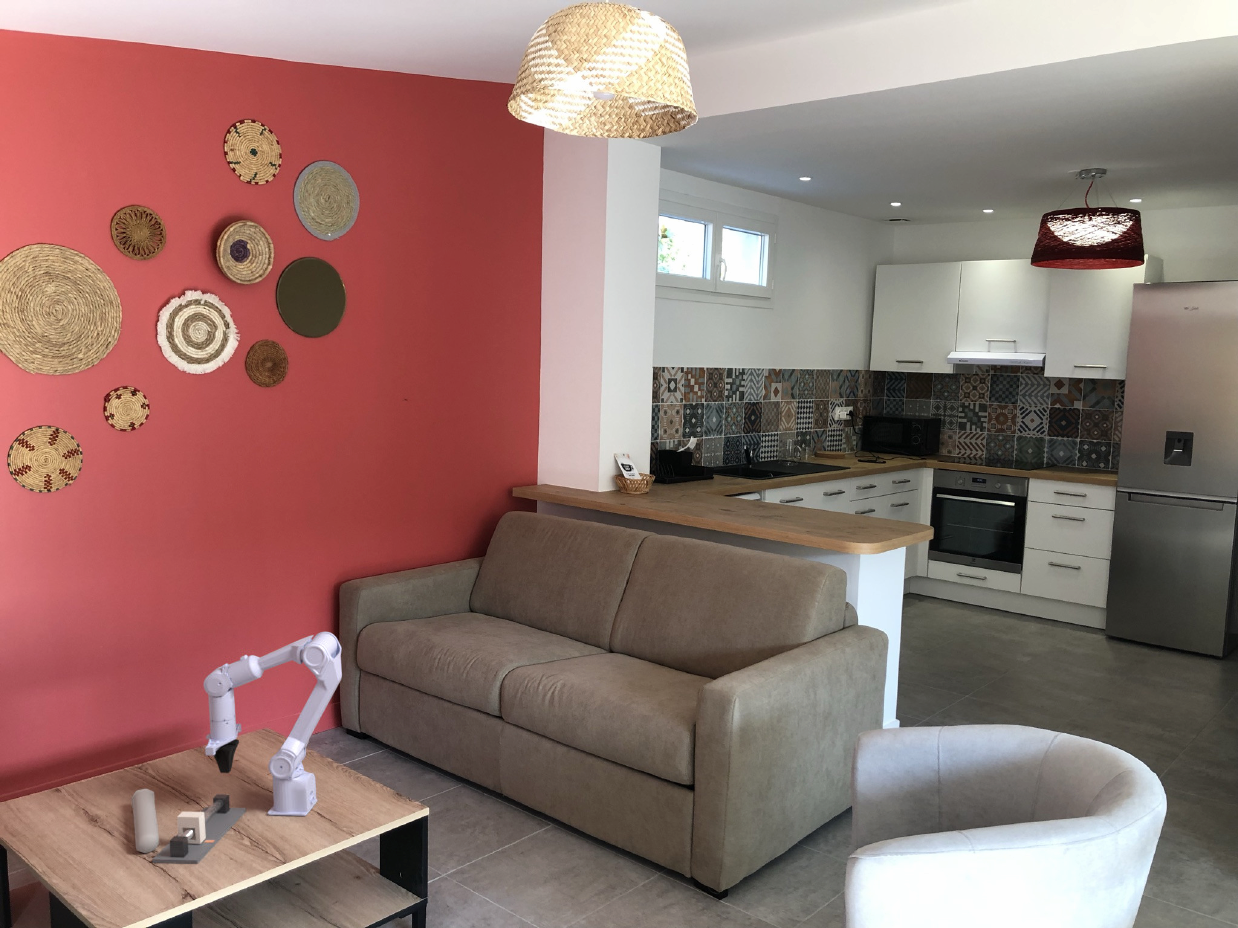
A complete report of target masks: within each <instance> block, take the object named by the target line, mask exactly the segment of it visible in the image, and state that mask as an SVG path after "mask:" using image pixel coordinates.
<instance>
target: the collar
mask: <svg viewBox="0 0 1238 928" xmlns="http://www.w3.org/2000/svg"><path fill="white" fill-rule="evenodd" d="M176 821H177V822H176V823H177V835H178V836H181V835H182V834H183V833H184V832H185V831H186V830H187V829H188V828H195V835H194V836H193V837H192V838H191V839H190V840H189V841H188V843H191V844H201V843H202V842H203V840H204V839H205V838H206V833H205V817H204V812H201V811H181V812H180V813H179V815H177V816H176Z"/></svg>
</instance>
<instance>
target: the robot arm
mask: <svg viewBox="0 0 1238 928" xmlns="http://www.w3.org/2000/svg"><path fill="white" fill-rule="evenodd" d="M341 654H342V645H341V644H340V641H339V640H338V638H337V636H335V634H333V633H332V632H329V631H321V632H318V633H317V634H316V635H315V636H314V634H312V635H309V636H306V637H303V638H301V639H298V640H296V641H294V642H291V643H289V644H287V645H285V646H282V647H280V648H278V649H275V650H274V651H271V652H268V653H267V654H265V655H263V656H260V657H259V656H256V655H254V654H253V655H247V654H245V655H242V656H240V658H239V660H236V661H234V662H232V663H230V664H229V663H224V664H223V665H222V666H218V667H217V668H215V669H214V670H213V671H212V672H211V673H209V674H208V675H207V676H206V678H205V679H204V680H203V688H204V689H203V690H204V691H205V692H206V694H208V712H209V732H210V733H208V734H207V735H205V739H206V740H208V743H207V745H206V746H205V747H204V750H205V751H204V752H205V756H213V757H214V759H215V762H216V764H217V767H218V770H219V773H220V774H229V773H230V772H231V770H232V768H233V763H234V756H235V753H236V750H237V749H238V745H239V744H240V740H239V739H238V734H239V733H240V732H242V724H241V723H237V722H236V719H237V718H236V704H235V688H238V687H240V686H243V685H246V684H248V683H251V682H253V681H256V680H257V679H260V678H262V676H263V675H264V671H267V670H269V669H271V668H274V667H277V666H280V665H282V664H286V663H288V662H291V661H293V662H294V663H296V664H297V665H298V664H299V665H302V664H304V665H305V667H307V668H308V669H309V670H310V672H311V673H312V674H313V675H314V676H315V678H316V680H317V682H316V684H315V686H314V687H313V689H312V691H311V693H310V695H309V696H308V698H307V701H306V703H305V704H304V706H303V708H302V710H301V712H300V713H299V716H298V718H297V719H296V722H295V723H294V725H293V727H292V729H291V730H290V733H289V735H288V736H287V738H286V739H285V741H284V742H283V743H282V744H281V746H280V748H279V749H278V750H277V751H276V753H275V754H274V755H273V756H272V757H271V758H270V759H269V761H268V766H267V768H268V771H269V773H270V774H271V776H272V790H273V791H272V794H273V795H272V796H273V806H271V808H270V809H269V810H268V812H267V815H268V816H297V817H299V816H301V817H302V816H303V817H305V816H307V815H308V814H309V812H310V811H311V810H312V808H313V807H314V806H315V805H316V803H317V802H318V801H319V800H318V799H317V785H316V776H315V774H314V772H308V771H306V770H305V768H304V765H303V762H302V761H303V760H305V758H306V754H307V745H308V744H309V742H310V738H311V736H312V734H313V732H314V730H315V728H316V727H317V725H318V723H319V721H320V719H321V718H322V715H323V714H324V712H325V711H326V708H327V706H328V704H329V703H330V701H331V700H332V697H333V696H334V694H335V691H336V690H337V688H338V686H339V684H340V682H341V680H342V678H343V677H342V676H343V673H342V672H343V671H342V670H343V669H342V657H341V656H342V655H341Z"/></svg>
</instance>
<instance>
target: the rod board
mask: <svg viewBox="0 0 1238 928" xmlns="http://www.w3.org/2000/svg"><path fill="white" fill-rule="evenodd" d="M200 812H204V817H205V833H206V838H205V839H204V840H203V842H202V843H201V844H191V843H188V841H189V840H190V839H191V838H192V837H193V836H194V835H195V828H188V829H187V830H186V831H185V832H184V833H183V834H182V835H181V836H178V834H176V835H174V836H173V837H172V838H170V840H169V843H167V845H165V846H164V847H163V848H162V850H160V851H159V852H158V853H157V854H156V855H155V856H154V857H153V858H152V864H185V865H186V864H190V865H198V864H199V863H200V862H201V861H202V859H203V858H205V856H206V855H207V854H208V853H209V852H210V851H211V850H212V849H213V848H214V847H215V845H216V844H218V842H219V841H220V840H221V839H222V838H223V837H224V836H225V835H226V834H227V832H228V831H229V830H230V829H231V828H232V827H233V826H234V825H235V824H236V823H237V822H238V821H239V819H240V818H241V817H243V816H244V814H245V813H246V812H247V807H231V806H230V794H220V793H219V794H218V793H217V794H216V795H214V796H213V797H212V804H211V806H205V807H204V808H203V809H202V810H201V811H200Z"/></svg>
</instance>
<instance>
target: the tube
mask: <svg viewBox="0 0 1238 928" xmlns="http://www.w3.org/2000/svg"><path fill="white" fill-rule="evenodd" d="M155 798H156V797H155V791H154V790H151V789H149V788H141V789H137V790H135V792H134V793H133V795H132V796H131V798H130V802H131V808H132V814H133V824H134V838H135V848H136V849H135V850H136V851H138V852H141V853H142V854H147V853H151V852H155V850H156V849H157V848H158V847H159V844H160V838H159V837H160V835H159V827H158V819H157V811H156V805H155V800H156V799H155Z"/></svg>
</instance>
